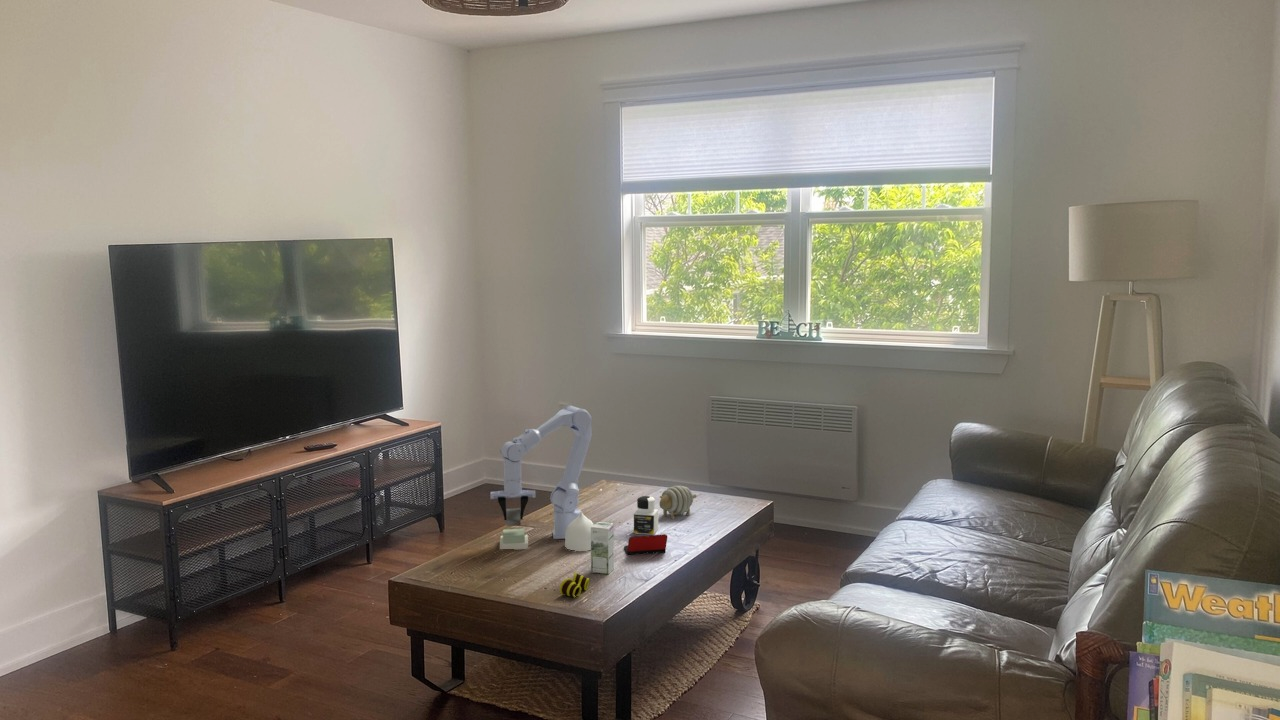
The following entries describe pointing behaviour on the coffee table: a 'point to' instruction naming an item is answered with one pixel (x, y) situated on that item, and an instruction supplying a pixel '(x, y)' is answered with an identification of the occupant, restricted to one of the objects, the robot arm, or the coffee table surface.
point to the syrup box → (602, 547)
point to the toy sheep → (676, 500)
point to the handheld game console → (646, 544)
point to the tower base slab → (514, 544)
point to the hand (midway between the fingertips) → (513, 519)
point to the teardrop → (579, 534)
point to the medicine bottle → (646, 516)
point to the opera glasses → (574, 585)
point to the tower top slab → (513, 536)
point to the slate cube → (513, 517)
